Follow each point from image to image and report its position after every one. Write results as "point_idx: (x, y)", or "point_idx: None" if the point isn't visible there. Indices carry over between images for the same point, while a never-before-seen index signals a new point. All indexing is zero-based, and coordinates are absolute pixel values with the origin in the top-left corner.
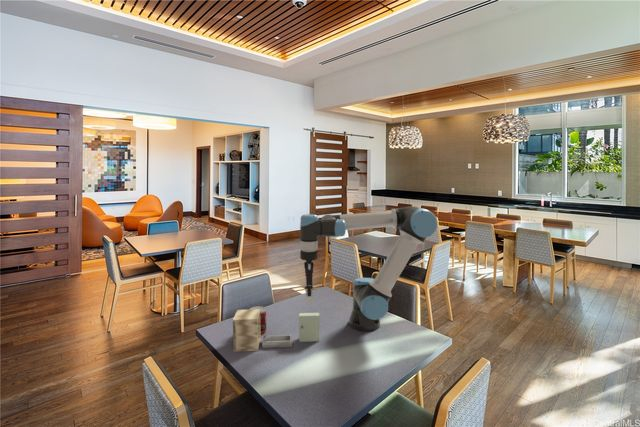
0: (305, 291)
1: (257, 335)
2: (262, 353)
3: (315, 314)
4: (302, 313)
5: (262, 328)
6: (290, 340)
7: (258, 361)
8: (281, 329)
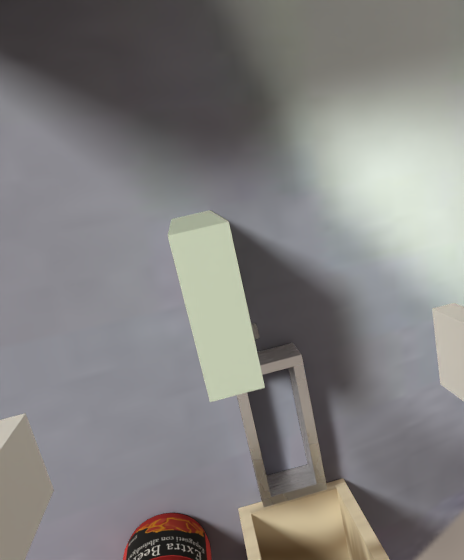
0: (52, 491)
1: (373, 537)
2: (361, 451)
3: (212, 261)
4: (211, 374)
5: (196, 543)
6: (294, 363)
7: (421, 443)
8: (118, 448)
